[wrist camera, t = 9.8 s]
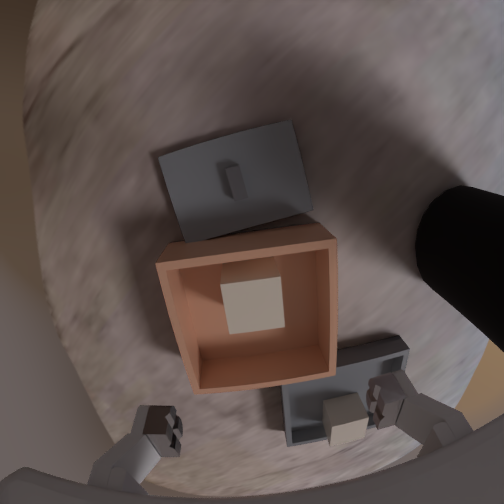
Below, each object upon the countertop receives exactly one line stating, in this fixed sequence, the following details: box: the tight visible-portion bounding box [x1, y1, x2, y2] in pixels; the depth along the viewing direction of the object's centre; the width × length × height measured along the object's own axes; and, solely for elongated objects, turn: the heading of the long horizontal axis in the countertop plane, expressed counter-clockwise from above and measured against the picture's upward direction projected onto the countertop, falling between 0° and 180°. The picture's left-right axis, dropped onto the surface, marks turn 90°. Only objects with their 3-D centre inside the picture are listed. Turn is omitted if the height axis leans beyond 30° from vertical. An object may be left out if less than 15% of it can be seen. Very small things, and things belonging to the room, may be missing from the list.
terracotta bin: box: [155, 223, 338, 394], centre depth 23 cm, size 12×12×4 cm
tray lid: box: [158, 120, 313, 243], centre depth 21 cm, size 7×10×2 cm
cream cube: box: [220, 256, 285, 334], centre depth 22 cm, size 4×4×4 cm
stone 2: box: [322, 392, 369, 447], centre depth 28 cm, size 4×4×4 cm
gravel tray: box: [280, 336, 410, 447], centre depth 29 cm, size 12×13×2 cm
